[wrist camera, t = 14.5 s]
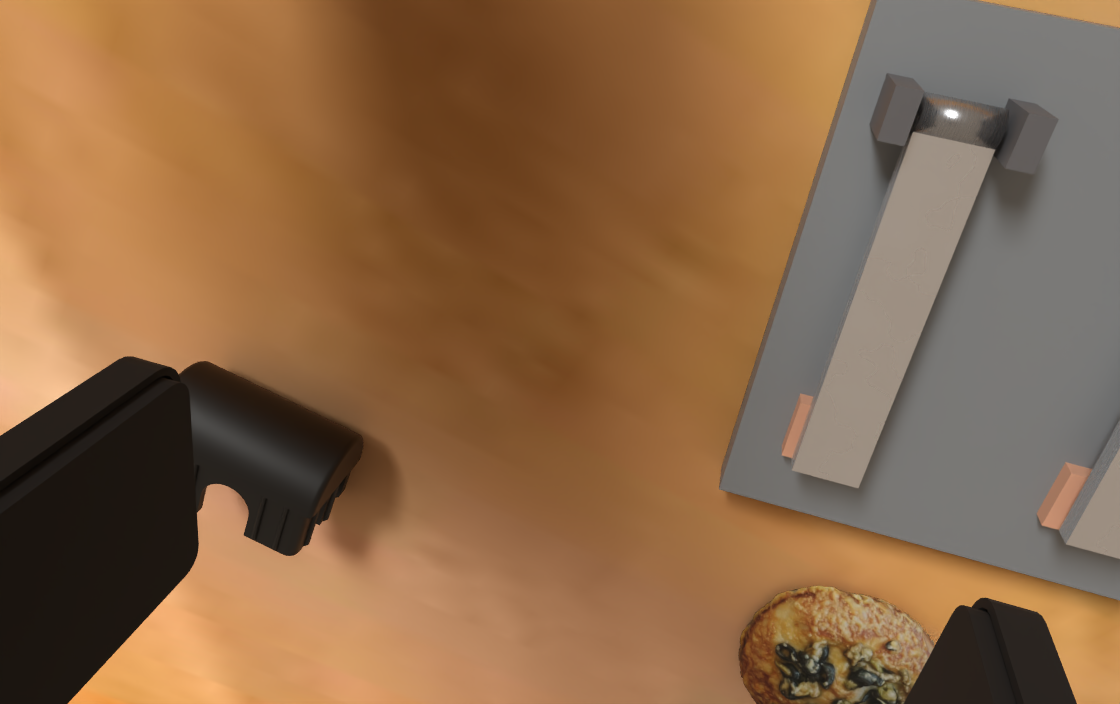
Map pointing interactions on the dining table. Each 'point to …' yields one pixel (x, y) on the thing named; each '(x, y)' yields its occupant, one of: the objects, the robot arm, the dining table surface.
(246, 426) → the end cap
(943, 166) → the strap
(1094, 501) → the strap
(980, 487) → the clamp board
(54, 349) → the dining table surface
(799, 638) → the bread roll
